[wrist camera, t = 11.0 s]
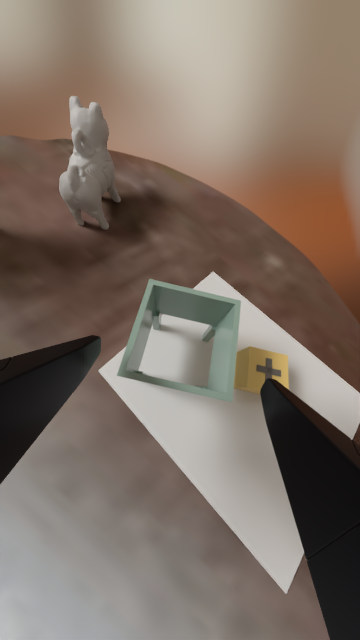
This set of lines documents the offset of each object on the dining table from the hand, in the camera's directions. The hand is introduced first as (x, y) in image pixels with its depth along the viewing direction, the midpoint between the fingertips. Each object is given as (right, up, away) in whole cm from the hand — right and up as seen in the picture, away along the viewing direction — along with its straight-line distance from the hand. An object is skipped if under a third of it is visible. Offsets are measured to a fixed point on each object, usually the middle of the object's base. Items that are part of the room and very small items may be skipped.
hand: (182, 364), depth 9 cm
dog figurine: (-13, +21, +20) cm, 32 cm away
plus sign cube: (+8, -4, +11) cm, 14 cm away
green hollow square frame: (-1, -2, +11) cm, 11 cm away
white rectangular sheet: (+7, -5, +11) cm, 14 cm away
